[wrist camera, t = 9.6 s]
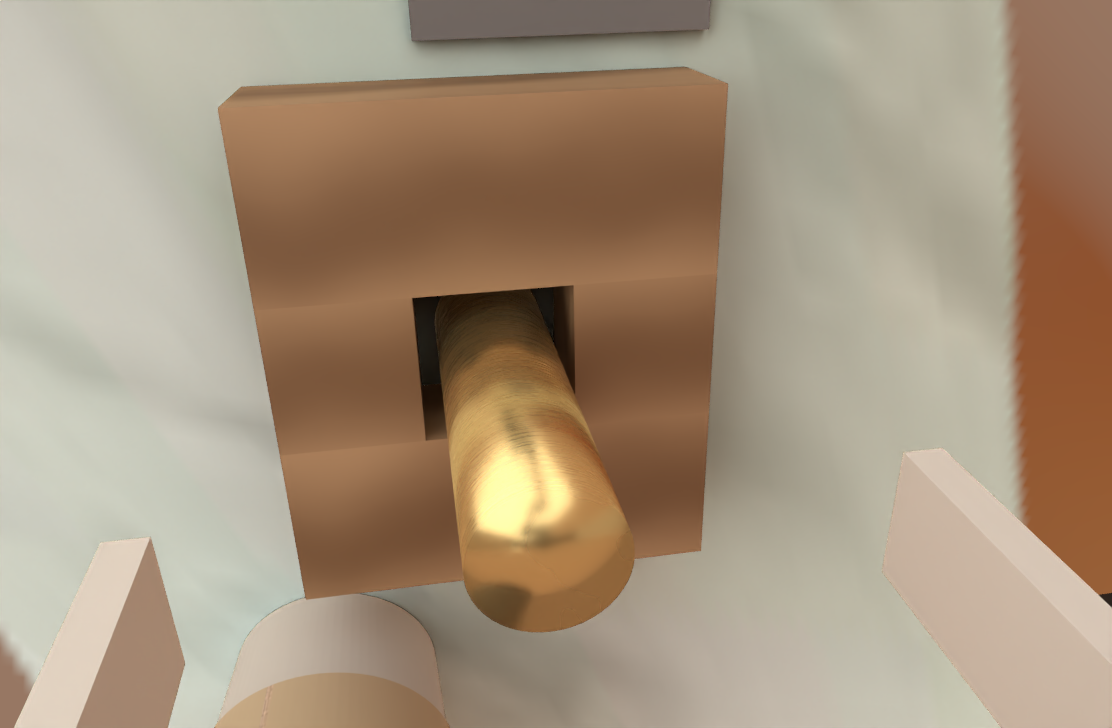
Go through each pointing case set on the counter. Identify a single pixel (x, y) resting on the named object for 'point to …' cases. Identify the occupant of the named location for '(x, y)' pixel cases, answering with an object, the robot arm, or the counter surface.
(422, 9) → the mat
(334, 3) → the counter surface
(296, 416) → the hole block
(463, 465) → the peg
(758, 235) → the counter surface
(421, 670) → the coffee cup
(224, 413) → the counter surface
